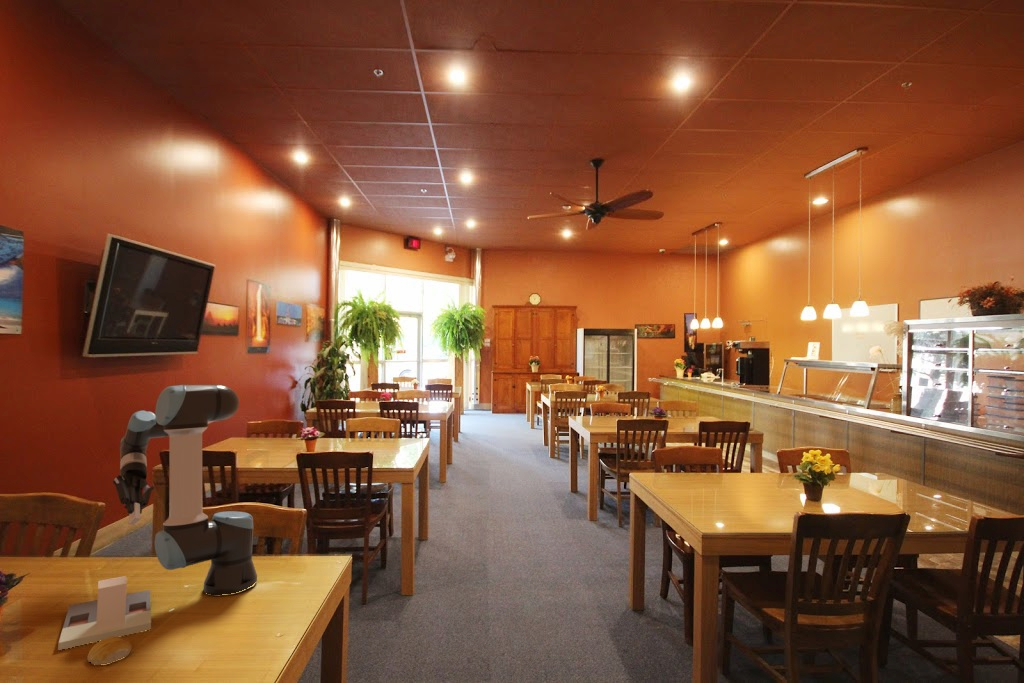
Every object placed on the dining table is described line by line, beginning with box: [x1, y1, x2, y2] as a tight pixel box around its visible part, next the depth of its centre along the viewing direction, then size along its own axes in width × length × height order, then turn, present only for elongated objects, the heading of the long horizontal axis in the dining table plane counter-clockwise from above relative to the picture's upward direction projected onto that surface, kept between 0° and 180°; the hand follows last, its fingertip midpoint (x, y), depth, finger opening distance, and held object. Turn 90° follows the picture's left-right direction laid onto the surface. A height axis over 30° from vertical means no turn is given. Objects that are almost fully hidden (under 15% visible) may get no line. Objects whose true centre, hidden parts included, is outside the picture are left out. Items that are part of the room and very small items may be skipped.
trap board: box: [62, 589, 152, 629], centre depth 150 cm, size 16×19×2 cm
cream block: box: [96, 575, 128, 632], centre depth 141 cm, size 6×6×11 cm
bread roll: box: [86, 637, 133, 666], centre depth 130 cm, size 8×9×4 cm
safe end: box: [57, 609, 152, 651], centre depth 140 cm, size 8×19×2 cm, turn 125°
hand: (134, 521), depth 167 cm, fingers closed
